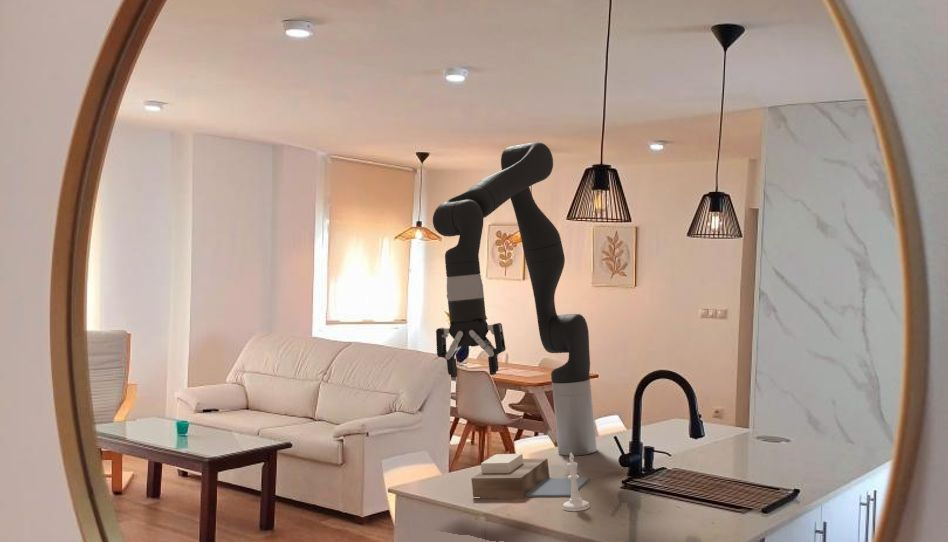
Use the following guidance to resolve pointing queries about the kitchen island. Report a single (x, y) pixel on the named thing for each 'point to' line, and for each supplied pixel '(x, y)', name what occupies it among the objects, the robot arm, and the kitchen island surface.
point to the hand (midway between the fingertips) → (473, 375)
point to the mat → (555, 487)
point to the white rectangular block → (502, 463)
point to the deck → (511, 480)
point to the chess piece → (574, 490)
